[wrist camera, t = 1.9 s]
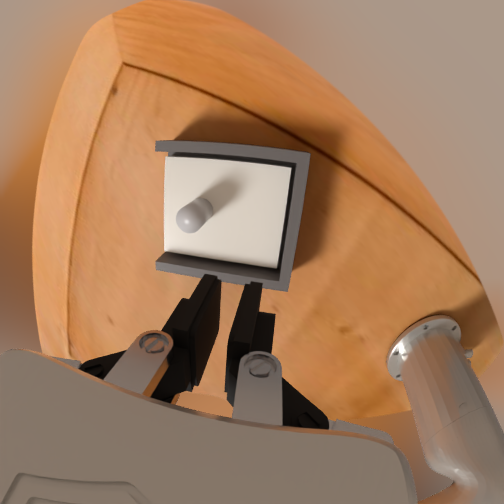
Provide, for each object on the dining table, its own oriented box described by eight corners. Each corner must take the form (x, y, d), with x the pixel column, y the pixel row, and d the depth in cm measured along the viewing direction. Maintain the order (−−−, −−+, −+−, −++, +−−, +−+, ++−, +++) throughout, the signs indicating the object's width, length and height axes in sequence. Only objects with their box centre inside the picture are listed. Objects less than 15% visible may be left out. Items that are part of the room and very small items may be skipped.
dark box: (307, 152, 25) (310, 153, 21) (288, 273, 30) (287, 291, 26) (173, 140, 26) (155, 140, 22) (170, 254, 31) (156, 269, 27)
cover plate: (291, 166, 25) (291, 171, 20) (277, 262, 29) (274, 285, 24) (171, 155, 25) (148, 159, 21) (169, 245, 29) (150, 265, 25)
